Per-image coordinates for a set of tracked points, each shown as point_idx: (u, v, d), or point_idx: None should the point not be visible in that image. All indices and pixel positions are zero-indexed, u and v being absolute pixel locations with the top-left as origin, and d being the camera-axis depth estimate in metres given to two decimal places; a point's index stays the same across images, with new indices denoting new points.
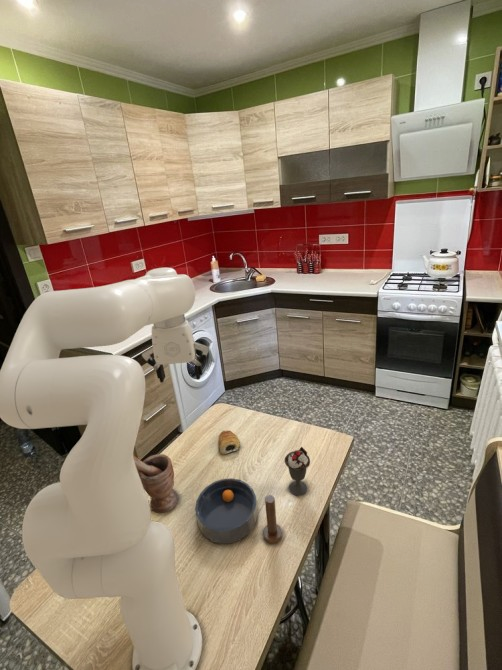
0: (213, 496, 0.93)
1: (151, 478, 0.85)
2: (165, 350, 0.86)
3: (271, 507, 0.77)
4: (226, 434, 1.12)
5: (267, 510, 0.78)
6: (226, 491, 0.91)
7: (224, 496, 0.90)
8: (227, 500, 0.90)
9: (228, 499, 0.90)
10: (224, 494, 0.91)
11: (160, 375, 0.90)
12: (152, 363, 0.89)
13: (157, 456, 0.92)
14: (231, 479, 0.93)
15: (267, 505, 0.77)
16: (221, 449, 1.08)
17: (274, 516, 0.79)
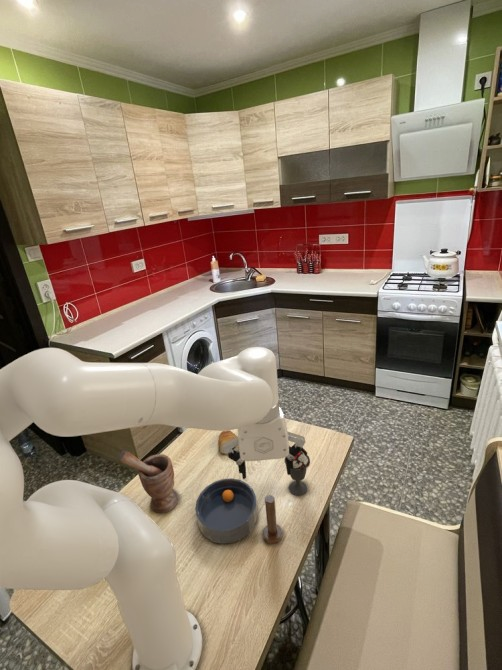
0: (213, 496, 0.93)
1: (151, 478, 0.85)
2: (255, 446, 0.69)
3: (271, 507, 0.77)
4: (226, 434, 1.12)
5: (267, 510, 0.78)
6: (226, 491, 0.91)
7: (224, 496, 0.90)
8: (227, 500, 0.90)
9: (228, 499, 0.90)
10: (224, 494, 0.91)
11: (243, 471, 0.73)
12: (234, 457, 0.72)
13: (157, 456, 0.92)
14: (231, 479, 0.93)
15: (267, 505, 0.77)
16: (221, 449, 1.08)
17: (274, 516, 0.79)
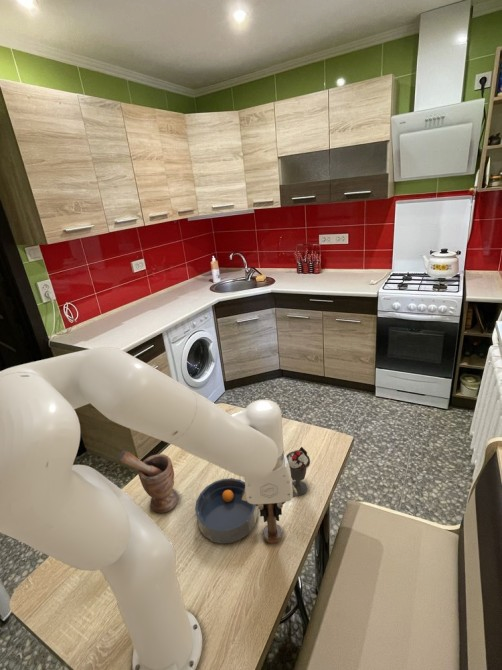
0: (213, 496, 0.93)
1: (151, 478, 0.85)
2: (260, 491, 0.73)
3: (271, 507, 0.77)
4: None
5: (267, 510, 0.78)
6: (226, 491, 0.91)
7: (224, 496, 0.90)
8: (227, 500, 0.90)
9: (228, 499, 0.90)
10: (224, 494, 0.91)
11: (265, 515, 0.78)
12: None
13: (157, 456, 0.92)
14: (231, 479, 0.93)
15: (267, 505, 0.77)
16: None
17: (274, 516, 0.79)
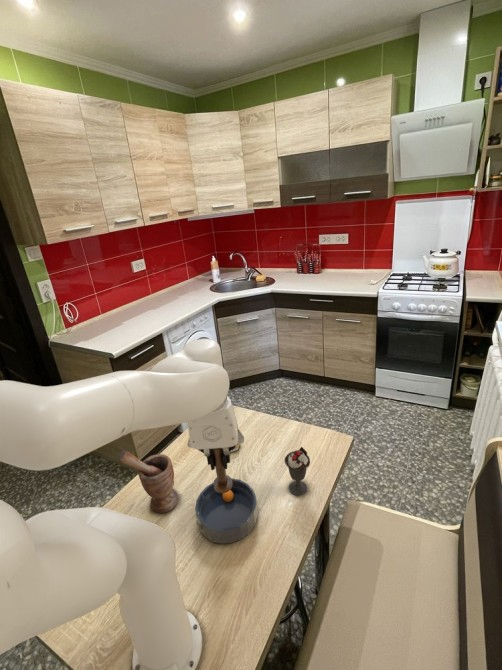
0: (213, 496, 0.93)
1: (151, 478, 0.85)
2: (203, 435, 0.71)
3: (217, 454, 0.76)
4: None
5: (214, 457, 0.76)
6: None
7: (224, 496, 0.90)
8: (227, 500, 0.90)
9: (228, 499, 0.90)
10: (224, 494, 0.91)
11: (212, 462, 0.76)
12: (203, 449, 0.75)
13: (157, 456, 0.92)
14: None
15: (214, 452, 0.76)
16: None
17: (222, 464, 0.78)
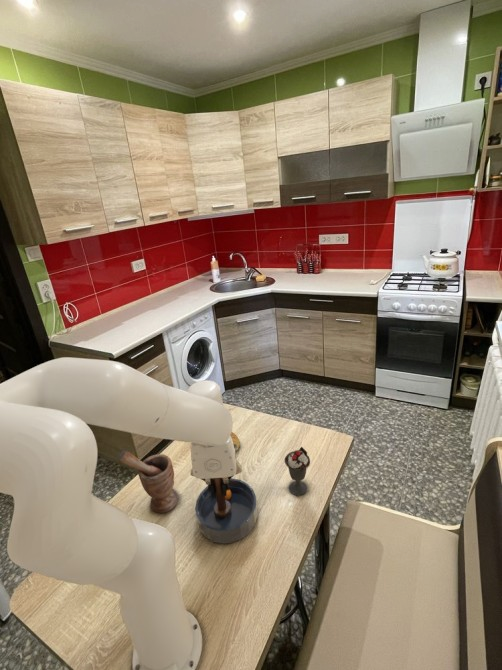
0: None
1: (151, 478, 0.85)
2: (205, 466, 0.79)
3: (217, 482, 0.83)
4: None
5: (215, 485, 0.84)
6: None
7: None
8: None
9: None
10: None
11: (212, 490, 0.83)
12: None
13: (157, 456, 0.92)
14: (231, 479, 0.93)
15: (214, 480, 0.83)
16: None
17: (222, 491, 0.85)
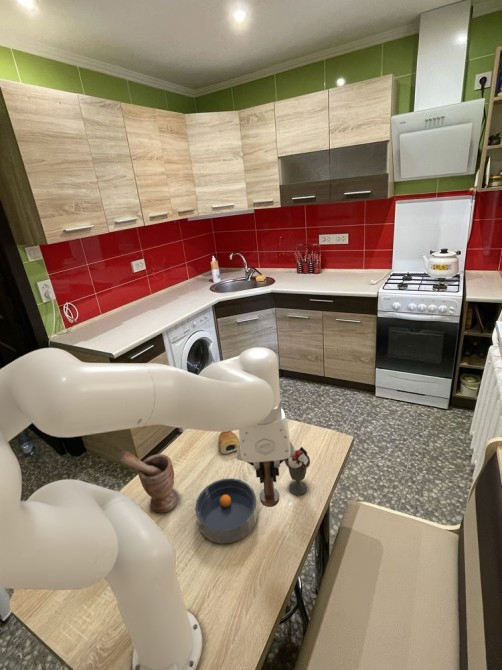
0: (213, 496, 0.93)
1: (151, 478, 0.85)
2: (256, 447, 0.68)
3: (267, 466, 0.73)
4: (226, 434, 1.12)
5: (264, 469, 0.73)
6: (223, 502, 0.89)
7: (221, 505, 0.89)
8: None
9: None
10: (221, 504, 0.89)
11: (261, 476, 0.73)
12: (252, 462, 0.72)
13: (157, 456, 0.92)
14: (231, 479, 0.93)
15: (263, 464, 0.73)
16: (221, 449, 1.08)
17: (271, 477, 0.74)
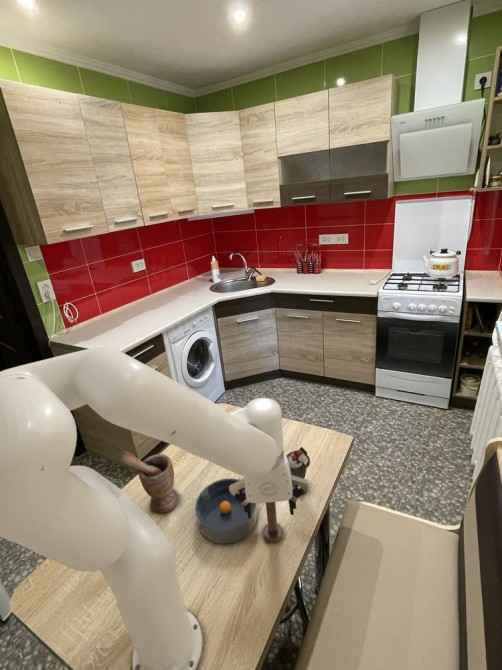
0: (213, 496, 0.93)
1: (151, 478, 0.85)
2: (260, 490, 0.73)
3: (271, 506, 0.78)
4: None
5: (268, 508, 0.78)
6: (223, 513, 0.88)
7: None
8: None
9: None
10: None
11: (249, 511, 0.77)
12: (240, 498, 0.76)
13: (157, 456, 0.92)
14: (231, 479, 0.93)
15: (267, 504, 0.78)
16: None
17: (274, 515, 0.79)
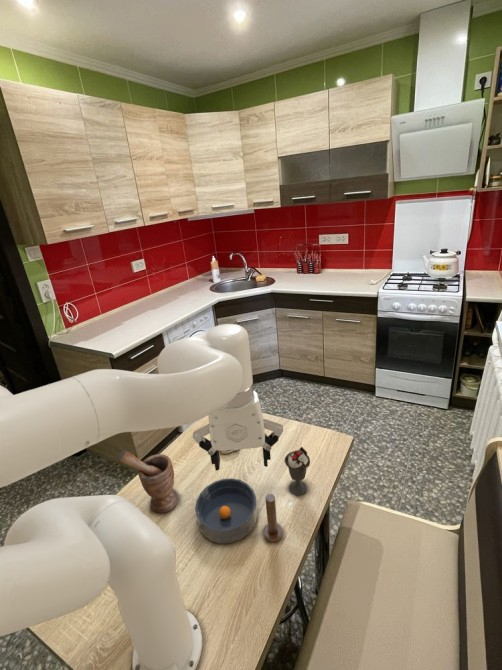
0: (213, 496, 0.93)
1: (151, 478, 0.85)
2: (227, 434, 0.63)
3: (271, 506, 0.78)
4: None
5: (268, 508, 0.78)
6: None
7: None
8: None
9: None
10: None
11: (216, 462, 0.67)
12: (206, 447, 0.66)
13: (157, 456, 0.92)
14: (231, 479, 0.93)
15: (267, 504, 0.78)
16: None
17: (274, 515, 0.79)
